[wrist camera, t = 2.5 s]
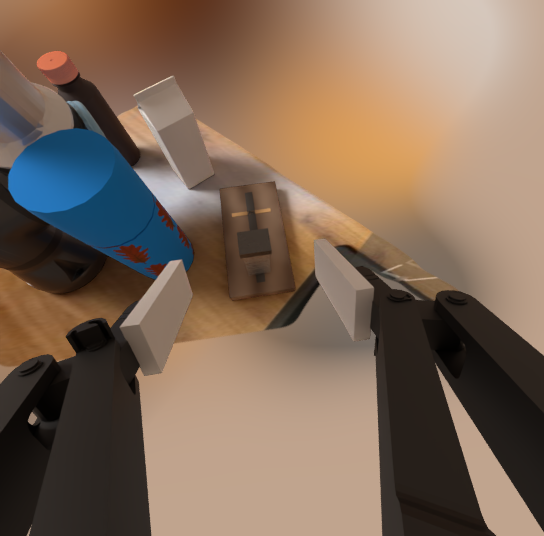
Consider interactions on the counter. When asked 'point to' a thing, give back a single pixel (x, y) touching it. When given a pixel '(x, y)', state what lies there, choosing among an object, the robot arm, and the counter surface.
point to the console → (252, 216)
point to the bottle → (87, 101)
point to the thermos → (97, 200)
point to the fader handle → (255, 250)
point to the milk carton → (175, 130)
